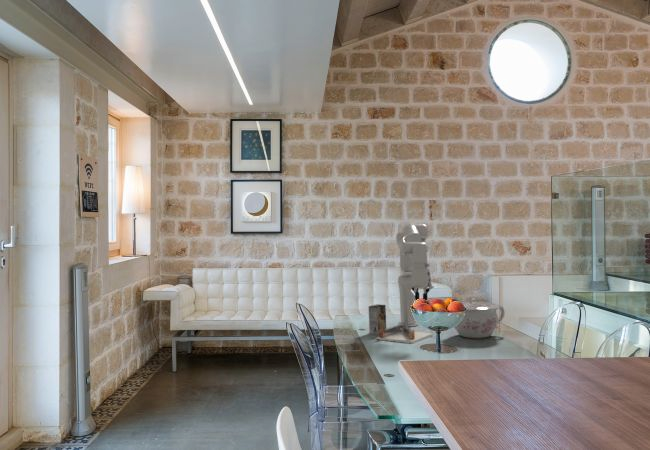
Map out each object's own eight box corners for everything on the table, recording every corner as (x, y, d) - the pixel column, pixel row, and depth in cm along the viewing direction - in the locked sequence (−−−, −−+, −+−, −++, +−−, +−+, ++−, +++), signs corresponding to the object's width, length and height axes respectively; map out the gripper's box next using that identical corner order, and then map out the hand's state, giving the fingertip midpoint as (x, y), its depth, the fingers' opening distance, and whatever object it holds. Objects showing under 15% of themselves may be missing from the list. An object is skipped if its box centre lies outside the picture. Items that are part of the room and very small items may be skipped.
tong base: (399, 330, 315) (399, 321, 315) (407, 331, 312) (407, 322, 312) (379, 337, 298) (378, 328, 298) (387, 338, 294) (387, 328, 294)
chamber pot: (443, 339, 294) (442, 301, 294) (456, 330, 318) (455, 294, 318) (497, 343, 281) (496, 303, 281) (506, 333, 305) (505, 296, 305)
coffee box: (377, 331, 322) (376, 304, 323) (386, 332, 319) (385, 304, 319) (369, 333, 315) (368, 306, 315) (378, 334, 311) (377, 306, 311)
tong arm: (403, 332, 310) (403, 325, 310) (407, 332, 310) (407, 325, 310) (409, 338, 291) (409, 331, 291) (414, 338, 291) (414, 331, 291)
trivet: (398, 332, 318) (398, 329, 318) (432, 335, 304) (432, 333, 304) (376, 339, 299) (376, 337, 299) (412, 343, 285) (411, 341, 285)
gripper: (437, 265, 286) (438, 300, 286) (409, 265, 297) (410, 298, 296) (431, 266, 280) (432, 302, 280) (402, 266, 291) (403, 300, 290)
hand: (421, 300), depth 288 cm, fingers open, 3 cm apart
